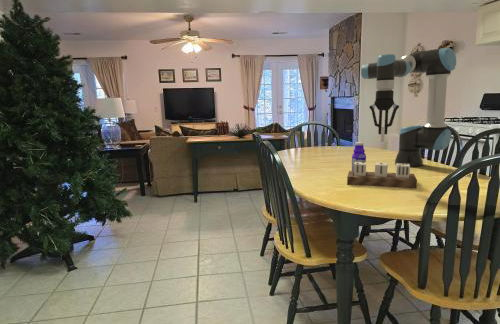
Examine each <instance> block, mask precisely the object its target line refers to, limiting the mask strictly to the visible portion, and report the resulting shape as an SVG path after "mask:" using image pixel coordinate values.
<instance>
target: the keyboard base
mask: <svg viewBox="0 0 500 324" xmlns="http://www.w3.org/2000/svg"><path fill="white" fill-rule="evenodd" d="M346 184H347V186H358V187H359V186H363V187H377V188H378V187H379V188H392V189H393V188H395V189H409V190H411V189H412V190H417V189H418V188H417V187H418V179H417V177H416V175H415V173H410V175H409V178H396V172H387V177H375V171H366V176H355V175H354V171H352V170H349V171H348V173H347V178H346Z"/></svg>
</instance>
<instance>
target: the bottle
mask: <svg viewBox="0 0 500 324" xmlns="http://www.w3.org/2000/svg"><path fill="white" fill-rule="evenodd" d="M365 152H366V150H365V149H364V142H362V141H358V142H357V141H356V142H355V143H354V149H353V153H352V155H351V171H354V163H355V162H366V163H367V156H366V153H365Z"/></svg>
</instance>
